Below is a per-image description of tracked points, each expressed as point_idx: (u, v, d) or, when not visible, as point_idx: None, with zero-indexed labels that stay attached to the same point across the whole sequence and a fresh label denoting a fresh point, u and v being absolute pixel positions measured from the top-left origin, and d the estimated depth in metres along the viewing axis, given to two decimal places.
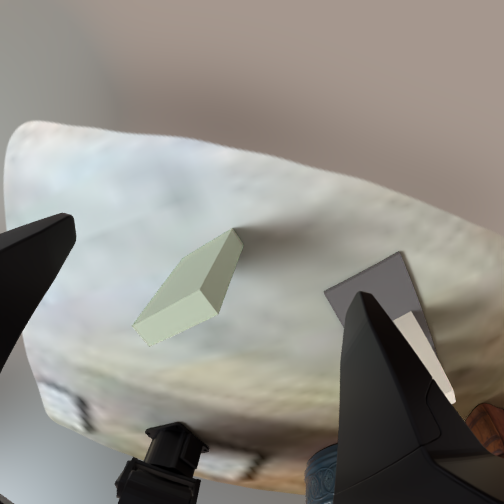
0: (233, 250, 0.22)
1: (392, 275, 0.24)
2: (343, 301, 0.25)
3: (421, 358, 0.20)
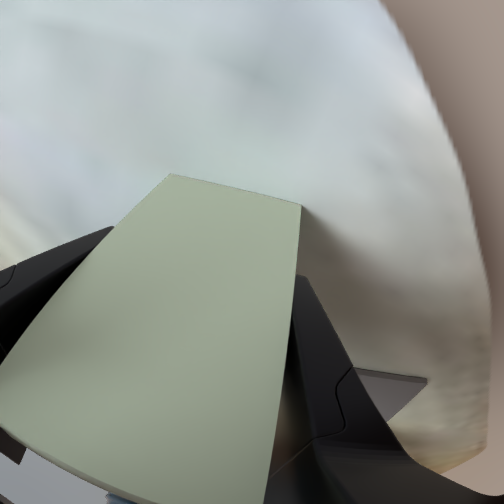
0: None
1: (397, 394, 0.16)
2: None
3: None
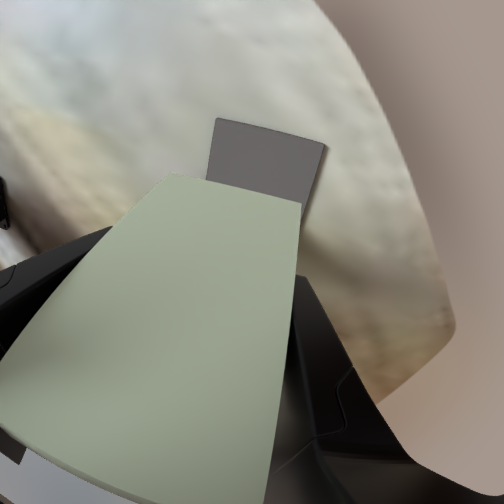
0: None
1: (298, 160, 0.20)
2: (227, 143, 0.20)
3: None
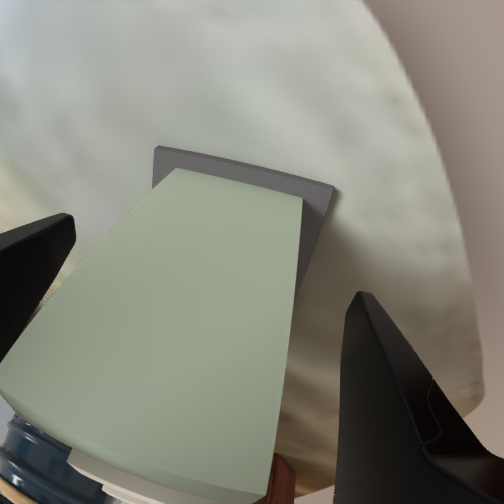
0: None
1: None
2: None
3: None
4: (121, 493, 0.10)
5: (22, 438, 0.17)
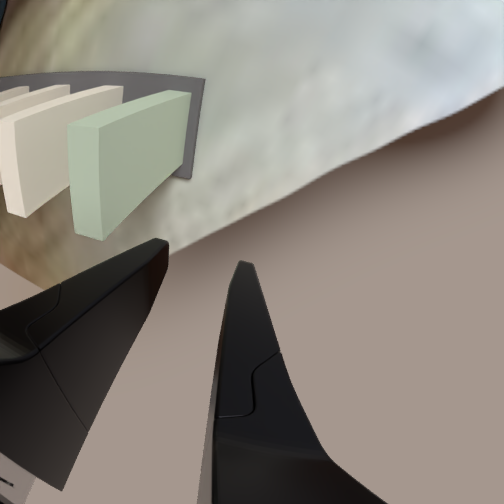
0: None
1: None
2: None
3: None
4: None
5: None
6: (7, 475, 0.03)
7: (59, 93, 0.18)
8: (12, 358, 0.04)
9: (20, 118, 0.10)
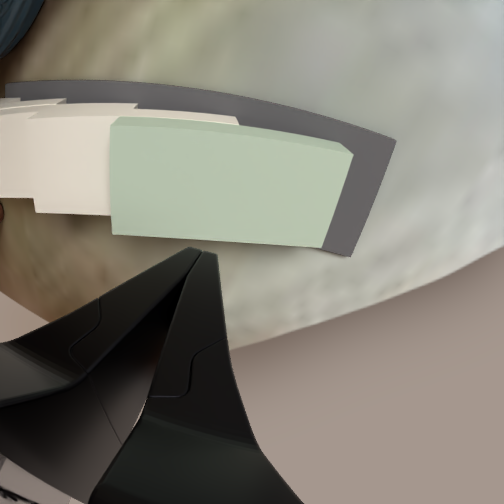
0: None
1: (333, 230, 0.17)
2: (361, 151, 0.14)
3: (105, 196, 0.14)
4: None
5: None
6: (46, 501, 0.03)
7: None
8: (61, 386, 0.03)
9: (36, 117, 0.11)
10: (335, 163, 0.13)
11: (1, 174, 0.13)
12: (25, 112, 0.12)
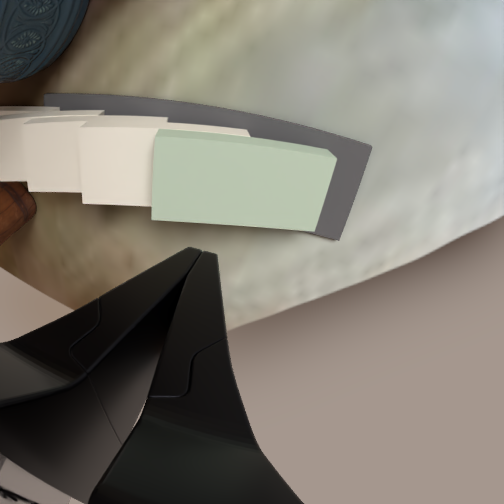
0: None
1: (324, 219, 0.21)
2: (344, 155, 0.18)
3: (144, 190, 0.18)
4: (25, 136, 0.16)
5: None
6: (46, 501, 0.03)
7: None
8: (62, 386, 0.03)
9: (88, 126, 0.15)
10: (323, 165, 0.17)
11: (49, 172, 0.18)
12: (74, 121, 0.16)
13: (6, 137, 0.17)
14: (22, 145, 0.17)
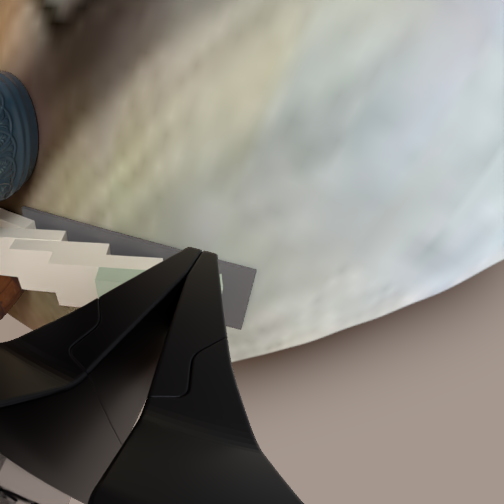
0: None
1: (227, 316, 0.28)
2: (235, 278, 0.26)
3: None
4: (13, 256, 0.23)
5: None
6: (46, 501, 0.03)
7: None
8: (61, 386, 0.03)
9: (53, 262, 0.23)
10: None
11: (33, 279, 0.25)
12: (44, 250, 0.23)
13: None
14: None
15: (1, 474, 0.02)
